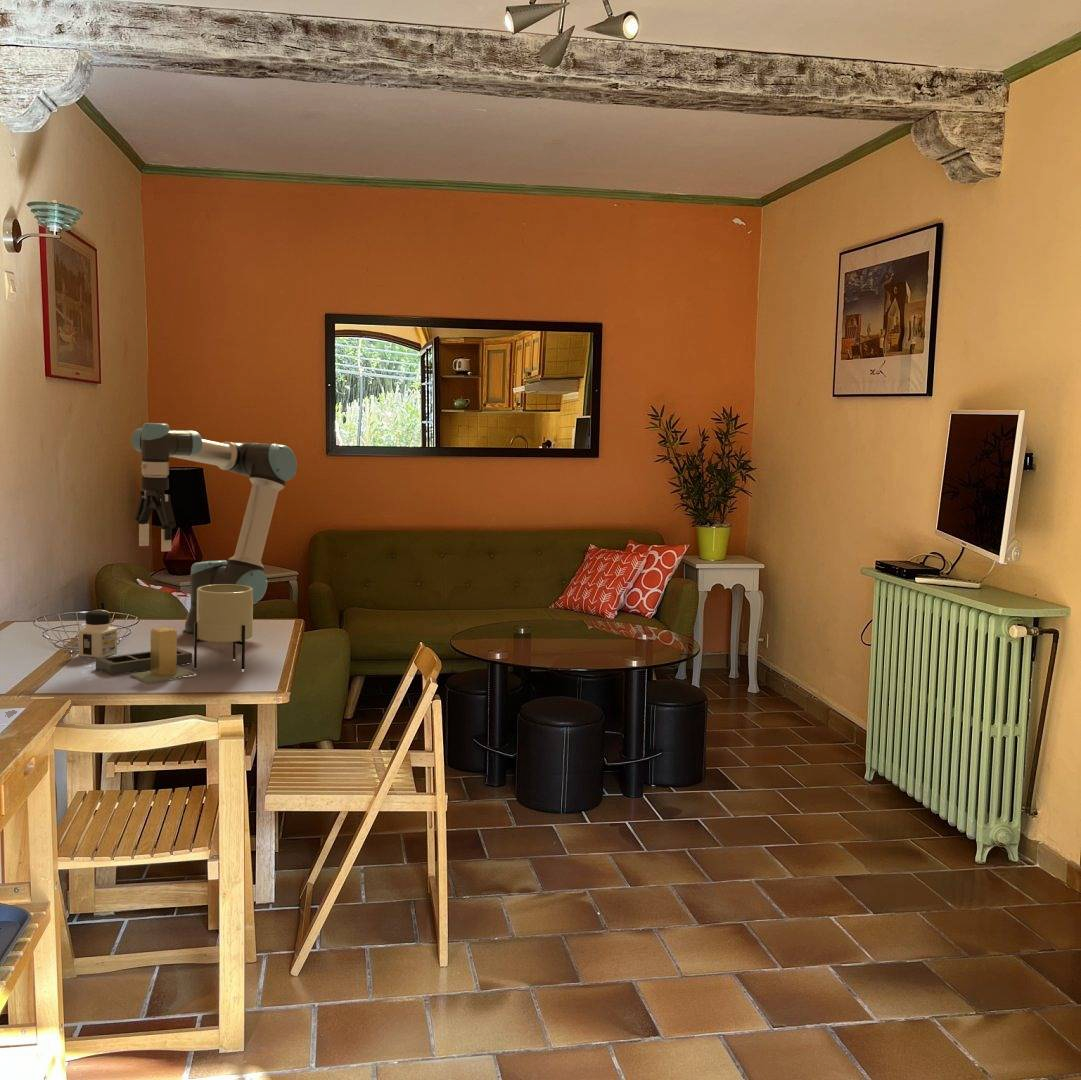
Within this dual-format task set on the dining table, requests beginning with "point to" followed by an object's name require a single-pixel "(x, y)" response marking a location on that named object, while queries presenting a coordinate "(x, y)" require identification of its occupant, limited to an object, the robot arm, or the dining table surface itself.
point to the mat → (153, 678)
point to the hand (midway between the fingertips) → (155, 548)
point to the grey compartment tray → (134, 662)
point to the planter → (224, 616)
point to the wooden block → (163, 651)
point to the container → (97, 635)
